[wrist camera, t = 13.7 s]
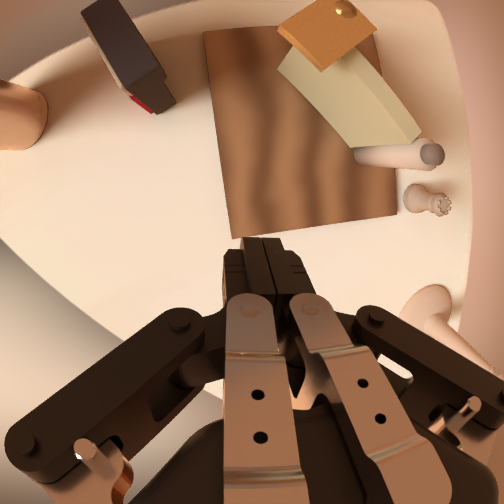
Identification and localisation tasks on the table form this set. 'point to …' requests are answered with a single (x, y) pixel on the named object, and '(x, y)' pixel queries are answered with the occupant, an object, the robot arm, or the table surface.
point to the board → (284, 142)
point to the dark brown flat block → (127, 55)
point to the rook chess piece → (425, 201)
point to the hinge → (363, 111)
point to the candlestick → (440, 322)
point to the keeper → (326, 31)
